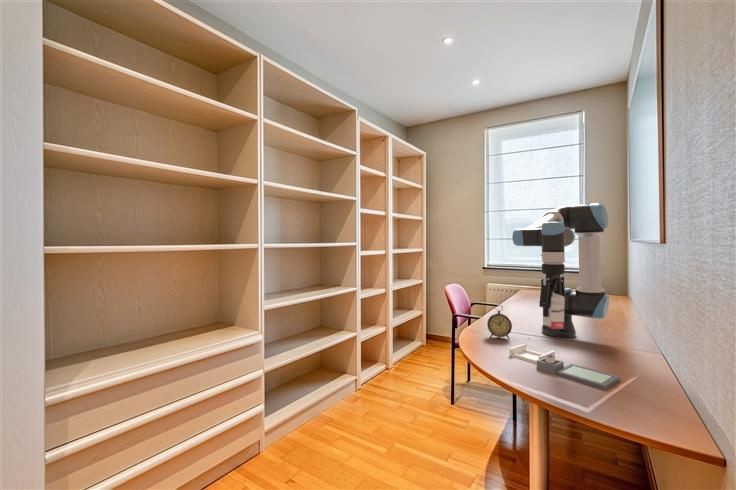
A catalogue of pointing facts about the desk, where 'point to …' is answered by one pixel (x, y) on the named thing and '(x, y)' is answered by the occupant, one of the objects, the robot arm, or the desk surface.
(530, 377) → the desk surface
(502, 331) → the alarm clock
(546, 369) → the cup
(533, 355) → the trough
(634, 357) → the desk surface
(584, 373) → the pale green panel
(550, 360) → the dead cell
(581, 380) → the base
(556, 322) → the ink box
